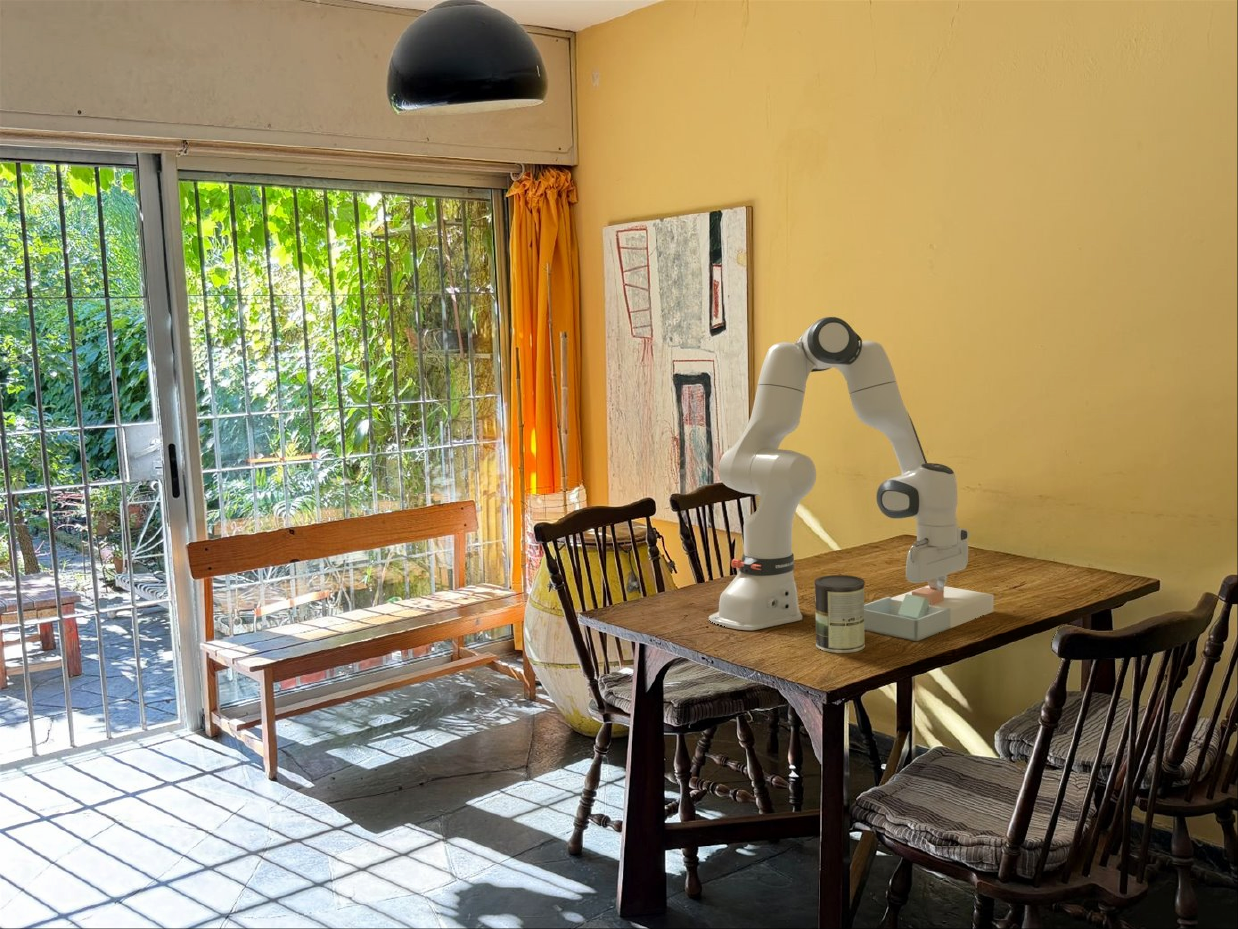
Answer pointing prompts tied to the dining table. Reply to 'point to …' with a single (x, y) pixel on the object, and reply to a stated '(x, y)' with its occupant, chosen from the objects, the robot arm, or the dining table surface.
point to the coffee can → (839, 613)
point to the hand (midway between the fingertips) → (937, 595)
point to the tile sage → (914, 607)
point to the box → (903, 621)
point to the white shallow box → (955, 604)
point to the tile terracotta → (930, 595)
